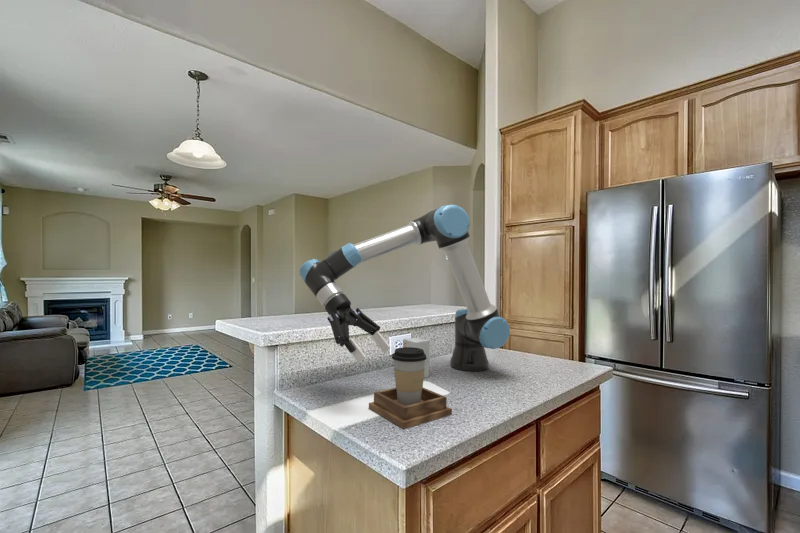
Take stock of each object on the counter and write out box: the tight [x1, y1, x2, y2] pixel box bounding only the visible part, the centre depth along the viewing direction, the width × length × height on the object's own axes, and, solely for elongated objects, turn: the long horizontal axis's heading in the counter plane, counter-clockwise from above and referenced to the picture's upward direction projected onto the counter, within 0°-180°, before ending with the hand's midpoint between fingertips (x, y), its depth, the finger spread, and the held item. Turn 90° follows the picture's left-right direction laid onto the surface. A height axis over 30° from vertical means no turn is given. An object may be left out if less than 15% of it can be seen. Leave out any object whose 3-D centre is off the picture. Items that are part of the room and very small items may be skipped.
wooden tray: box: [368, 387, 453, 430], centre depth 99 cm, size 16×16×4 cm
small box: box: [402, 337, 430, 378], centre depth 134 cm, size 8×6×13 cm
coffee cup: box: [391, 347, 427, 406], centre depth 99 cm, size 9×9×15 cm
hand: (375, 355), depth 106 cm, fingers open, 13 cm apart
